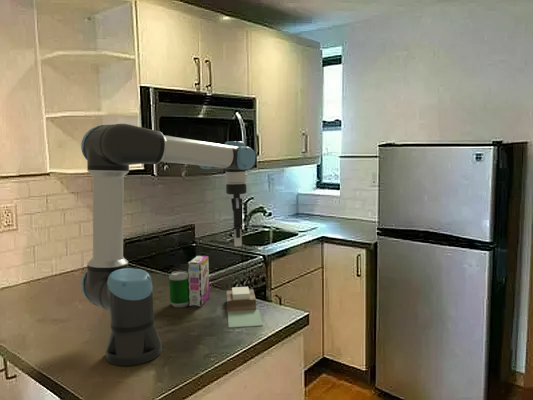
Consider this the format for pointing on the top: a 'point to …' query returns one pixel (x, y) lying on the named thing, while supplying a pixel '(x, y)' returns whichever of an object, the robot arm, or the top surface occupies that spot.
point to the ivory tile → (240, 293)
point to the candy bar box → (198, 280)
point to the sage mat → (244, 318)
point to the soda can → (179, 288)
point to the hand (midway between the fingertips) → (238, 245)
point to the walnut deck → (241, 302)
